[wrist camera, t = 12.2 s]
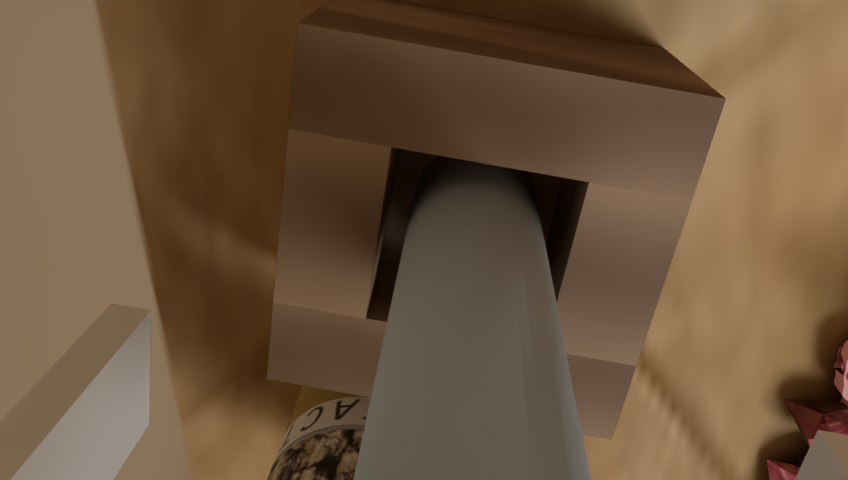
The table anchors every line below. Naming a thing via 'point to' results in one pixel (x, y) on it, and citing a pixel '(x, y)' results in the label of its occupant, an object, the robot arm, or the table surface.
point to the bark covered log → (322, 436)
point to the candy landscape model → (817, 417)
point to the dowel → (473, 341)
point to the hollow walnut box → (489, 144)
